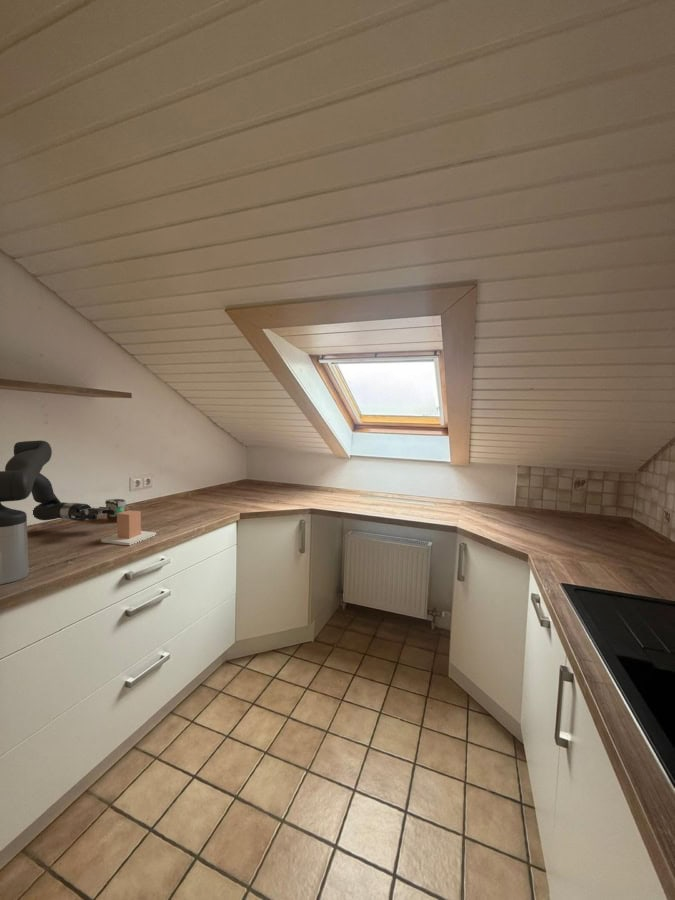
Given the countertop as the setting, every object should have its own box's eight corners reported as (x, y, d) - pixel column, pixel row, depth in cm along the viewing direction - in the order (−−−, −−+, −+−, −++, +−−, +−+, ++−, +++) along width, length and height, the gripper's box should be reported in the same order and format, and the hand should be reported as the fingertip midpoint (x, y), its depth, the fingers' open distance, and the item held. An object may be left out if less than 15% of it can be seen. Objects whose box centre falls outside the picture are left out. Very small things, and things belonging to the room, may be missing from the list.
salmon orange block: (129, 538, 140) (129, 514, 140) (117, 537, 142) (117, 513, 141) (140, 534, 146) (140, 511, 145) (129, 533, 147) (129, 510, 147)
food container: (131, 520, 171) (131, 500, 170) (118, 523, 165) (118, 503, 165) (118, 516, 177) (118, 497, 176) (105, 519, 172) (105, 499, 171)
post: (129, 545, 136) (129, 524, 135) (101, 542, 139) (100, 521, 138) (156, 535, 149) (155, 516, 149) (129, 532, 152) (129, 513, 152)
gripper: (59, 506, 143) (89, 509, 139) (91, 500, 157) (119, 502, 153) (59, 524, 143) (90, 527, 139) (91, 516, 157) (120, 519, 153)
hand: (105, 514), depth 146 cm, fingers open, 8 cm apart
